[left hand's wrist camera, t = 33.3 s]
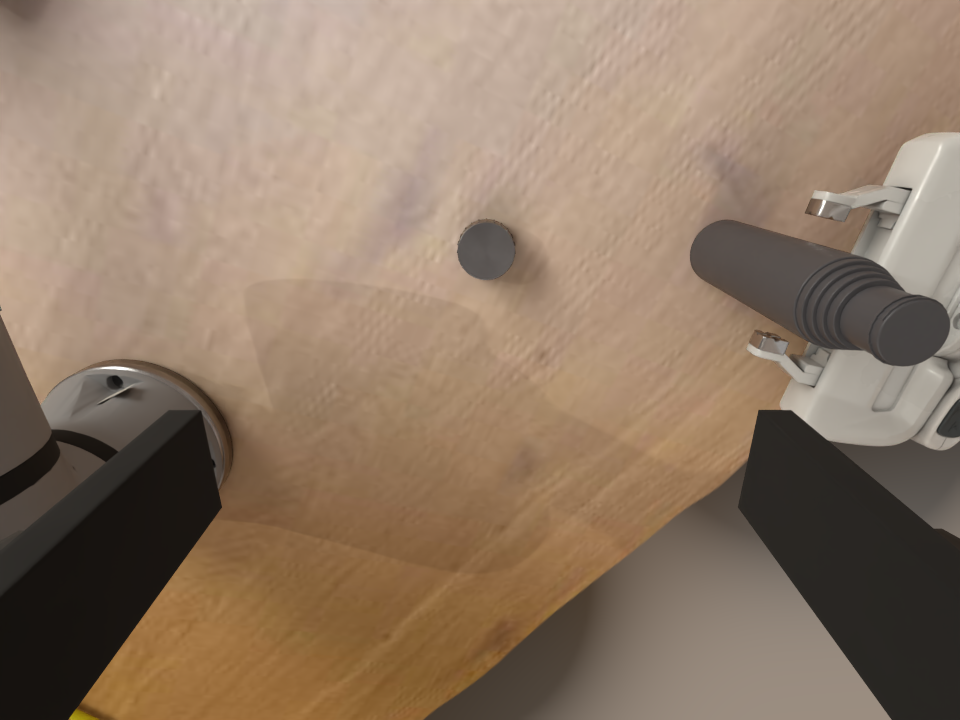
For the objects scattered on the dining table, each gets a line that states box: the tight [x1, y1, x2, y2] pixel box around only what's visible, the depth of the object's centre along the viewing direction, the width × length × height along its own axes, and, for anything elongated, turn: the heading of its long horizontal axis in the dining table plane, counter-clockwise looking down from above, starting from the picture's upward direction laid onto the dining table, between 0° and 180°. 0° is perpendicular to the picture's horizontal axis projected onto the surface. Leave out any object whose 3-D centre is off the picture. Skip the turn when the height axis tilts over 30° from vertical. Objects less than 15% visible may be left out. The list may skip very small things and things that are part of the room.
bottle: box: [690, 220, 950, 367], centre depth 31 cm, size 5×5×20 cm
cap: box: [457, 219, 515, 280], centre depth 40 cm, size 4×4×2 cm
